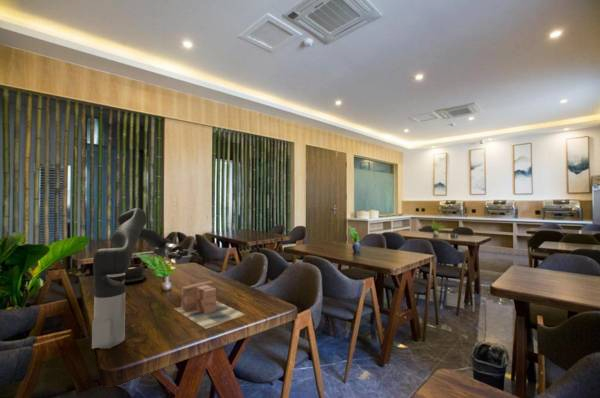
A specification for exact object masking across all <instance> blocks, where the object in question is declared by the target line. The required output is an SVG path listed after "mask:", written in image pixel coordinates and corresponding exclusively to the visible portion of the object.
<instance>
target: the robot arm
mask: <svg viewBox="0 0 600 398" xmlns="http://www.w3.org/2000/svg"><path fill="white" fill-rule="evenodd" d="M117 219H118V224H119V226H118V227H117V228H116V229H115V231H114V233H112V236H111V237H112V238H111V243H112V246H114V247H112V248H110V247H108V248H100V249H96V250H95V252H94V255H93V259H92V260H93V261H92V269H93V292H94V293H93V299H94V301H93V320H92V322H91V349H94V350H96V349H95V348H100V349H111V348H113V347H115V346H118V345H120V344H122V343H123V342H124V341H125V338H126V283H125V282H124V283H122V282H118V281H115V280H112V279H110V278H109V277H108V276H107V275H112V274H122V273H125V272H126V271H127V270H128V269H129V266H130V265H131V262H132V258H133V254H134V253H133V252H134V249H135V247H136V245H137V242H138V240H139V238H140V239H141V240H143V241H145V242H146V243H148V244H149V245H150V247H152V248H153V253H154V255H156V256H158V257H166V258H167V259H169V260H172V259H173V260H176V261H180V260H181V259H183V258H191V257H193V258H198V250H196V249H192V248H191V249H185V247H184V246H182V245H179V244H176V243H173V241H172V240H170V239H169V238H166V237H164V236H162V235H160V234H159V232H157V231H156V230H154V229H151V228H146V227H145V226H146V224H147V221H148V216H147V214H146V212H145V211H144V210H143V209H142V208H139V207H136V208H133V209H130V210H128V211H126V212H123V213H121V214H120V215H118V217H117ZM144 227H145V228H144ZM100 349H99V350H100Z"/></svg>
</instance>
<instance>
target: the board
mask: <svg viewBox="0 0 600 398" xmlns="http://www.w3.org/2000/svg"><path fill="white" fill-rule="evenodd" d="M174 310H175V311H176V312H178V313H180V314H181V315H182V316H184V317H186V318H188V319H189V320H191V321H192V322H194V323H195V324H198V326H200V327H202V328H204V329H205V330H206V329H210V328H212V327H214V326H217V325H221V324H224V323H226V322H229V321H232V320H234V319H238V318H240V317H243V316H245V315H246V314H245V313H243V312H241V311H240V310H237V309H235V308H232V307H231V306H229V305H226V304H224V303H223V302H220V301H218V300H216V311H214V312H211V313H208V314H204V313H203V312H201V311H199V310H197V309H193V310H190V311H185V310H183V309H181V306H179V307H176V308H174Z"/></svg>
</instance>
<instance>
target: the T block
mask: <svg viewBox="0 0 600 398" xmlns="http://www.w3.org/2000/svg"><path fill="white" fill-rule="evenodd" d="M215 283H216V282H213V281H211V280H207V281H206V280H205V281H201V282H197V283H192V284H189V285H184V286H181V289H180V290H181V291H180V292H181V293H180V294H181V298H180V301H181V302H180V307H181V309H183V310H185V311H190V310H193V309H197V310H199V311H201V312H203V313H204V314H208V313H211V312H214V311H216V301H217V288H215V286H216V285H215Z"/></svg>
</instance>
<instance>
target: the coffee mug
mask: <svg viewBox="0 0 600 398" xmlns="http://www.w3.org/2000/svg"><path fill="white" fill-rule="evenodd" d="M107 276H108V277H109V278H110V279H112V280H115V281H118V282H122V283H124V284H125V282H124V280H125V273H122V274H112V275H107Z"/></svg>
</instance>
